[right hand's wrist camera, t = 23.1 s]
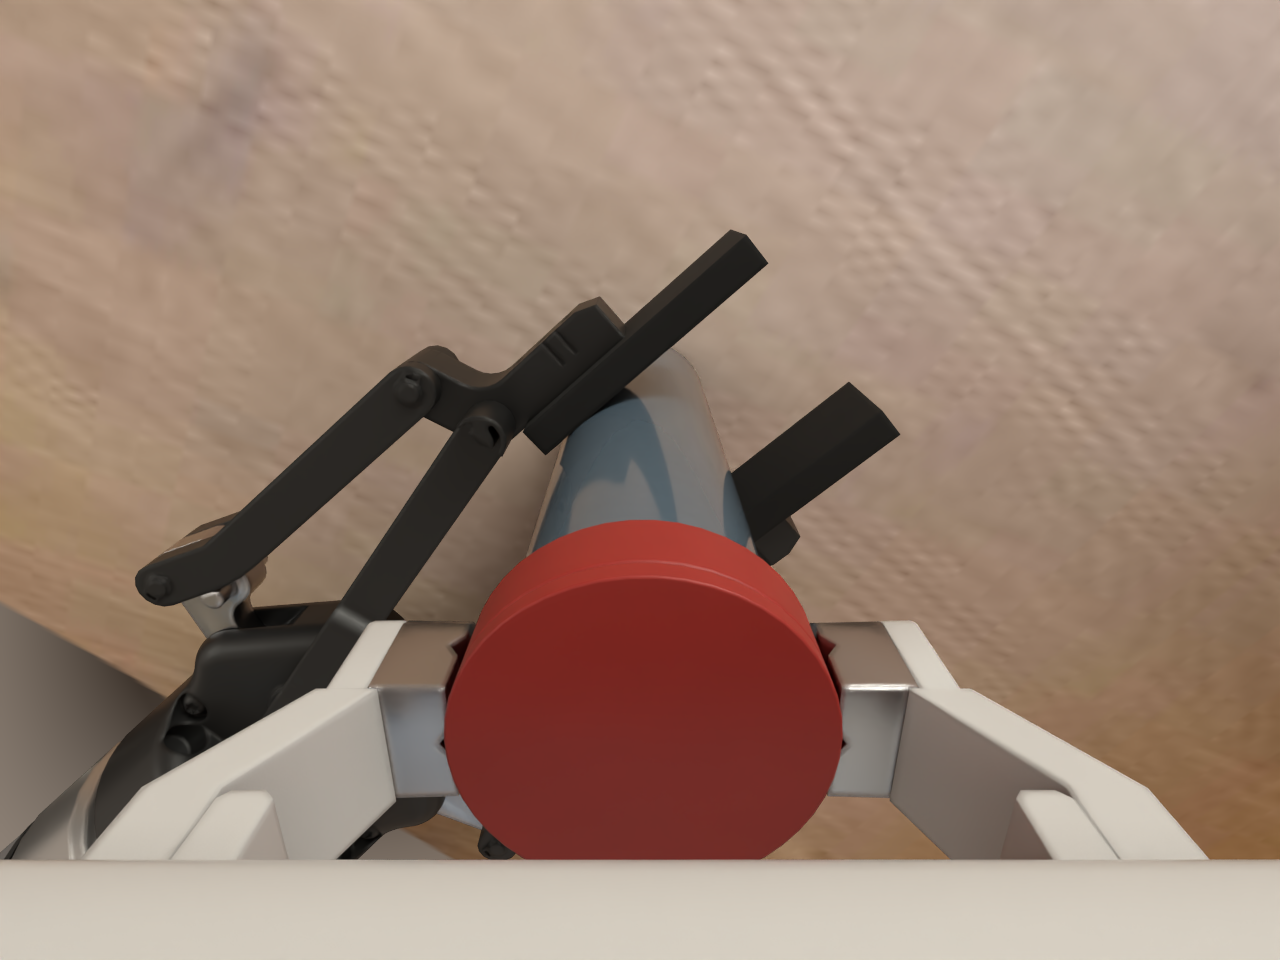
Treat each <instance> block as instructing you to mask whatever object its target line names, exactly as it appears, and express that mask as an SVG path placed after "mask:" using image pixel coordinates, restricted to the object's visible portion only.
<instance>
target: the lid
mask: <svg viewBox="0 0 1280 960" xmlns="http://www.w3.org/2000/svg"><path fill="white" fill-rule="evenodd" d="M842 739H843V729H842V714H841V709H840V704H839V699H838V695H837V692H836V690H835V687H834V684H833V682H832V679H831V677H830V674H829V672H828V669H827V667H826V664H825V662H824V659H823V657H822V654H821V652H820V649H819V647H818V644H817V642H816V639H815V637H814V634H813V632H812V629H811V627H810V624H809V622H808V619H807V617H806V614H805V612H804V609H803V608H802V606H801V604H800V602H799V601H798V599H797V597H796V596H795V594H794V592H793V591H792V590H791V588H790V587H789V586H788V585H787V583H786V582H785V581H784V580H783V578H782V577H781V576H780V575H779V574H778V573H777V572H776V571H775V570H774V569H773V568H772V567H771V566H769V565H768V564H767V563H766V562H765V561H764V560H763V559H761V558H760V557H758V556H757V555H755V554H754V553H753V552H751V551H750V550H748V549H747V548H745V547H744V546H742V545H740V544H738V543H736V542H734V541H732V540H730V539H728V538H726V537H724V536H722V535H719V534H716V533H713V532H711V531H708V530H705V529H703V528H699V527H695V526H690V525H686V524H682V523H677V522H669V521H660V520H626V521H618V522H610V523H604V524H600V525H596V526H592V527H588V528H584V529H580V530H578V531H575V532H573V533H570V534H567V535H565V536H562V537H560V538H558V539H556V540H554V541H552V542H550V543H548V544H546V545H545V546H543V547H541V548H539V549H537V550H536V551H535V552H533V553H532V554H531V555H529V556H528V557H526V558H525V559H524V560H522V561H521V562H520V563H519V564H518V565H517V566H515V567H514V568H513V569H512V570H511V571H510V572H509V573H508V574H507V575H506V576H505V577H504V578H503V579H502V581H501V582H500V583H499V585H498V586H497V587H496V588H495V590H494V591H493V592H492V594H491V595H490V597H489V599H488V601H487V602H486V604H485V606H484V608H483V609H482V611H481V614H480V616H479V619H478V621H477V624H476V627H475V629H474V632H473V634H472V637H471V640H470V642H469V645H468V647H467V650H466V652H465V655H464V658H463V660H462V663H461V665H460V668H459V671H458V673H457V676H456V678H455V681H454V684H453V686H452V689H451V692H450V694H449V697H448V702H447V707H446V712H445V718H444V743H445V750H446V757H447V762H448V765H449V768H450V772H451V775H452V778H453V781H454V783H455V785H456V787H457V789H458V791H459V793H460V795H461V797H462V799H463V801H464V802H465V804H466V805H467V806H468V808H469V809H470V811H471V812H472V814H473V815H474V817H475V818H476V819H477V820H478V821H479V822H480V823H481V824H482V825H483V826H484V828H485V829H486V830H487V831H488V832H489V833H490V834H491V835H493V836H494V837H495V838H496V839H497V840H498V841H500V842H501V843H502V844H503V845H504V846H506V847H507V848H509V849H510V850H512V851H513V852H515V853H516V854H518V855H519V856H521V857H522V858H524V859H526V860H760V859H762V858H764V857H766V856H767V855H769V854H770V853H772V852H773V851H774V850H776V849H777V848H779V847H780V846H782V845H783V844H784V843H785V842H787V841H788V840H789V839H790V838H791V837H792V836H793V835H795V834H796V833H797V832H798V831H799V830H800V829H801V828H802V827H803V826H804V825H805V823H806V822H807V821H808V820H809V819H810V818H811V817H812V815H813V814H814V813H815V811H816V810H817V808H818V807H819V805H820V804H821V802H822V801H823V799H824V798H825V796H826V794H827V792H828V790H829V788H830V786H831V784H832V781H833V779H834V777H835V773H836V770H837V766H838V763H839V760H840V754H841V747H842Z"/></svg>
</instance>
